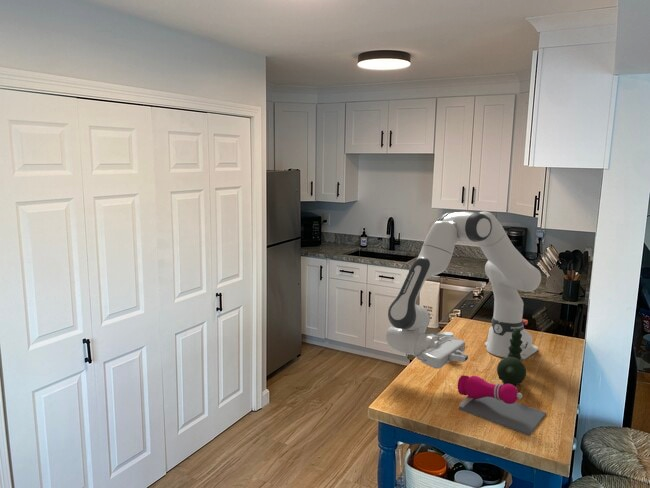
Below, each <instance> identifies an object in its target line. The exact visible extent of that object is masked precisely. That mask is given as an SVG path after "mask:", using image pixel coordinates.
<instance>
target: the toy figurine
mask: <svg viewBox="0 0 650 488" xmlns="http://www.w3.org/2000/svg"><path fill="white" fill-rule="evenodd" d="M521 337H522V334H521V333H520V330H519V329H518V328H515V329H514V330H513V333H512V339H510V343H511V346H510V347H509V354H508V357H506V358H505V357H503V358H502V359H501V360H500V361H499V362H498V364H497V367H496V373H497V376H498V379H499V380H501V381H502V382H503V383H502V385H505V384H512V385H514V386H515V387H516V388H517V385H519V384H520V385H521V384H522V383H523V381H524V380H525V379H526V376H527V369H526V366H525V364H524V363H523V362H522V359H521V355H520V353H521V352H522V349H521V347H520V346H521V344H522V343H523V342H522V341H521Z"/></svg>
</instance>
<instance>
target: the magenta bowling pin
mask: <svg viewBox="0 0 650 488" xmlns="http://www.w3.org/2000/svg"><path fill="white" fill-rule="evenodd" d="M457 392H458V394H459V395H462V396H469V397H470V398H472V399H479V398H483V397H493V398H495V399H496V400H500V401H501V400H502V401H503V402H505V403H507V404H513V403H515V402H517V401H518V399H519V400H521V399H523V398H524V397H523V394H522V393H521V392H519V390H518V389H517V386H516V387H515V386H514V385H512V384H505V385H503V383H495V384H494V383H491V382H488V381H486V379H483V378H482V377H480V376H478V375H471V376H468V375H460V377H459V378H458V380H457Z"/></svg>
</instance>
